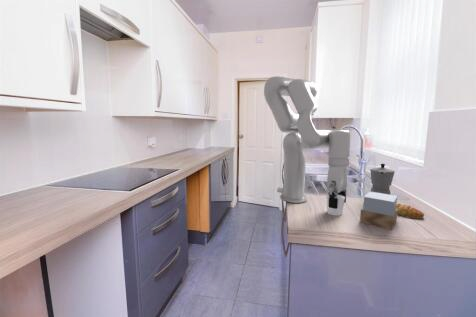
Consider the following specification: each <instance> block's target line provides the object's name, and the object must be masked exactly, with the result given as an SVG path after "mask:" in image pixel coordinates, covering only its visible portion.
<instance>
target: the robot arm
mask: <svg viewBox="0 0 476 317" xmlns="http://www.w3.org/2000/svg"><path fill="white" fill-rule="evenodd" d="M317 93H318V87H317V85H316V83H314V82H313V81H312V80H307V79H301V78H297V79H296V78H290V77H284V76H280V75H279V76H275V75H274V76H270V77H269V78H268V79H266V82H265V83H264V88H263V95H264V99H265V101H266V103H267V105H268V107H269V109H270V111H271V112H272V115H273V118H274V120H275V122H276V125H277V127H278V129H279V130H280V131H281V132H282V133H286V135H285V136H284V137H283V140H282V147H283V148H282V149H283V153H284V154H283V156H284V159H283V160H284V163H283V164H284V168H283V169H284V170H283V171H284V172H283V188H282V187H277V189H276V192H277V193H280V195H279V198H280V200H282V201H283V202H287V203H293V204H302V203H305V202H307V201H308V197H307V196H306V195H305V181H306V180H305V178H306V158H305V155H304V153H308V152H312V151H315V150H317V149H328V160H327V161H328V163H327V166H329V167H328V169H327V170H328V171H327V181H326V190H327V192H328V194H329V208H335V209H337V208H338V198H337V195H342V196H344V197H345V201H344V204H345V203H346V202H347V187H348V167H350V155H351V154H350V152H351V150H350V149H351V133H350V131H349V130H345V129H342V130H341V129H338V130H336V129H335V130H334V129H333V130H332V129H316V128H315V125H314V124H313V121H312V115H313V114H314V113H315V112H317V111H318V104H317V102H316V100H315V97H316V96H317ZM283 96H285V97H290V99H291V102H292V105H293V106H294V108H295V110H296V112H293V111H292V110H291V107H290V106H289V104H288V101H287V100H286V99H284V97H283ZM287 133H288V134H287ZM328 194H327V195H328Z"/></svg>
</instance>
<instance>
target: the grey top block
mask: <svg viewBox="0 0 476 317" xmlns="http://www.w3.org/2000/svg"><path fill="white" fill-rule="evenodd" d="M370 191H371V190H370ZM370 191H368V192H367V193H366V195H365V196H363V207H362V208H363V210H365V211H370V212H374V213H379V214H384V215H389V216H393V215H394V212H395V210H396V205H397V204H398V203H397V202H398V195H394V194H391V195H389V194H382V193H376V192H370Z"/></svg>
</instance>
